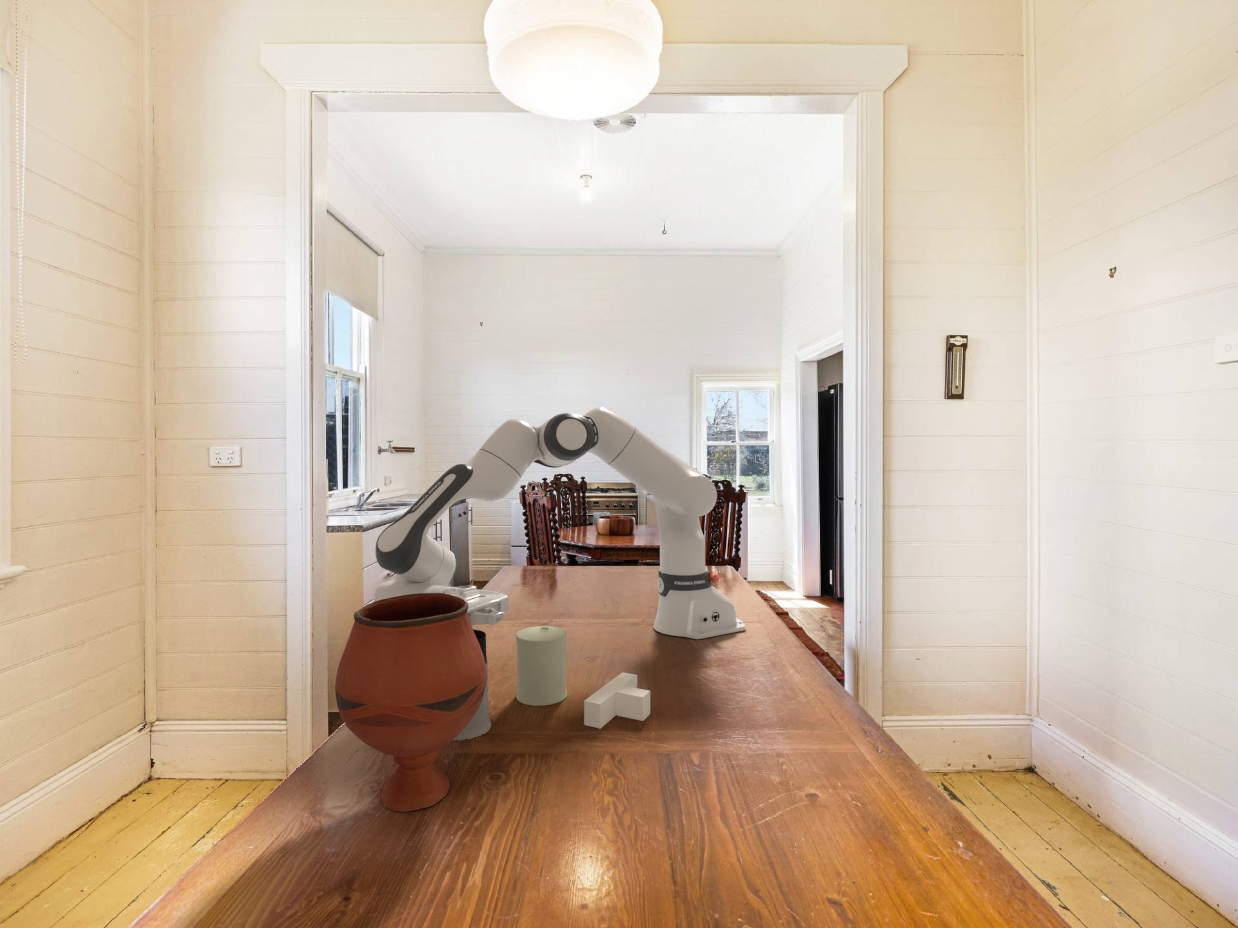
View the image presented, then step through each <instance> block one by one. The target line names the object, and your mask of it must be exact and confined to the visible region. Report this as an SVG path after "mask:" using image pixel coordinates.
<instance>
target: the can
mask: <svg viewBox="0 0 1238 928" xmlns="http://www.w3.org/2000/svg"><path fill="white" fill-rule="evenodd" d="M515 639H516V676H517V677H516V684H517V685H516V699H517V701H518V702H520V703H521V704H524V705H527V706H531V707H534V706H535V707H542V706H543V707H544V706H545V707H546V706H551V705H555V704H557V703H560V702H562V701H564V700H565V699H566V698H567V697H568V691H567V688H568V687H567V630H565V629H564V628H562V627H559V626H553V625H537V626H536V625H534V626H529V627H525V628H523V629H520V630H518V631H517V632H516V634H515Z"/></svg>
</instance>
